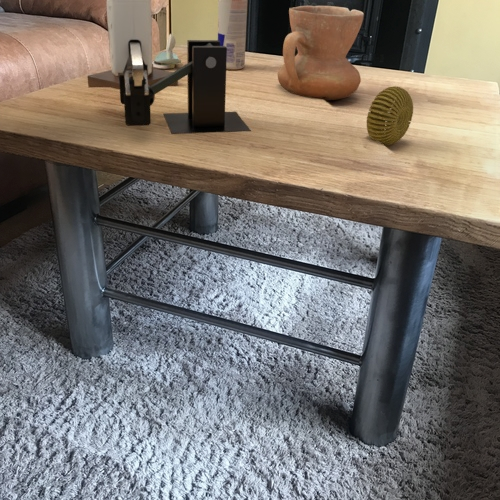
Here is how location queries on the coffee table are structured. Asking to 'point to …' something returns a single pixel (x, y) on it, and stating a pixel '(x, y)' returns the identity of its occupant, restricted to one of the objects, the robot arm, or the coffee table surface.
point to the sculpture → (390, 115)
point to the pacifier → (167, 56)
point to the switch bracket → (206, 93)
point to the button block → (113, 81)
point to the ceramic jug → (320, 52)
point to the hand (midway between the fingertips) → (134, 113)
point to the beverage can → (233, 31)
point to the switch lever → (170, 80)
